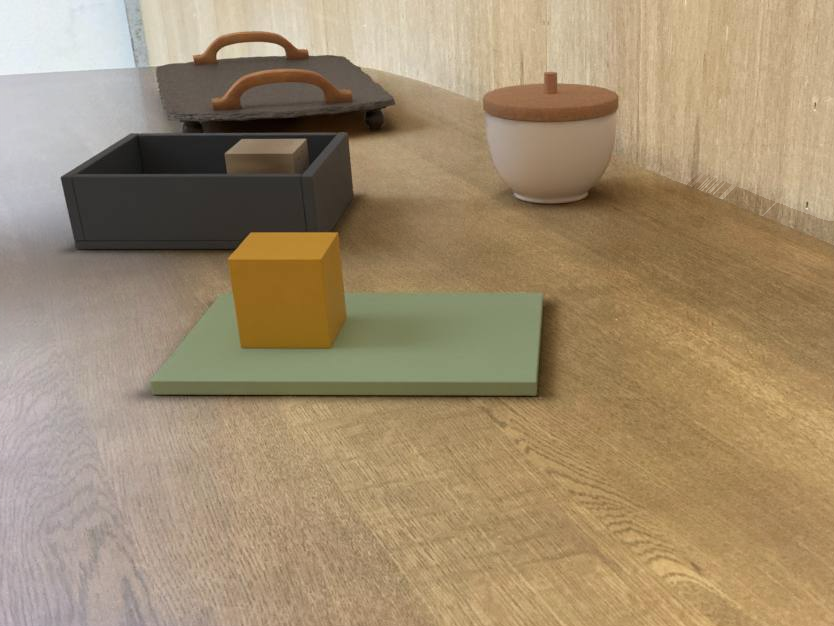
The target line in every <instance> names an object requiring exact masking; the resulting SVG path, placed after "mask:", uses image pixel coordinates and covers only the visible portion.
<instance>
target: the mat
mask: <svg viewBox="0 0 834 626" xmlns="http://www.w3.org/2000/svg"><path fill="white" fill-rule="evenodd" d="M344 295H345V305H346V315H347V317H346V319H345V321H344V323H343V325H342V327H341V329H340V331H339V333H338V335H337V337H336V339H335V341H334V343H333V345H332V347H331V348H241V345H240V338H239V332H238V325H237V319H236V312H235V306H234V299H233V292H231V291H230V292H224V291H223V292H221V293H220V294H219V296H217V298H216V299H215V300H214V302H213V303H212V304H211V305H210V306H209V308H208V309H207V310H206V311H205V313H204V314H203V315H202V316H201V318H200V319H198V322H197V323H195V325H194V326H193V327H192V329H191V330H190V331H189V332H188V334H186V336H185V337H184V339H182V340H181V342H180V343H179V345H178V346H177V347H176V348H175V350H174V351H173V352H172V353H171V355H170V356H169V357H168V358H167V360H165V362H164V363H163V364H162V365H161V367H160V368H159V369H158V371H157V372H156V373H155V374H154V375H153V377H152V378H151V379H150V381H149V382H150V388H151V393H152V395H154V396H155V395H164V396H165V395H167V396H169V395H171V396H172V395H173V396H175V395H179V396H180V395H183V396H184V395H185V396H186V395H191V396H192V395H193V396H194V395H195V396H196V395H197V396H198V395H200V396H201V395H202V396H203V395H204V396H205V395H207V396H210V395H211V396H214V395H215V396H216V395H217V396H229V395H231V396H238V395H239V396H252V395H253V396H507V397H508V396H513V397H515V396H516V397H517V396H526V397H529V396H532V397H533V396H537V394H538V383H539V367H540V355H541V354H540V353H541V341H542V326H543V325H542V324H543V313H544V311H543V310H544V292H344Z"/></svg>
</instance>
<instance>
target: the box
mask: <svg viewBox="0 0 834 626" xmlns="http://www.w3.org/2000/svg"><path fill="white" fill-rule="evenodd" d="M241 139H307V148H308V157H309V166H310V167H309V168H308V169H307V170H306V171H305V172H304V174H303V175H302V174H227V167H226V161H225V153H226V152H227V151H228V150H229V149H231V148H232V147H233V146H234V145H235V144H237V143H238V142H239V141H240V140H241ZM60 182H61V186H62V191H63V196H64V200H65V205H66V209H67V213H68V217H69V222H70V227H71V231H72V237H73V240H74V245H75V249H76V250H236V249H237V248H238V247H239V245H240V244H241V243H242V242H243V241H244V240H245V239H246V237H247V236H248V235H249V234H250V233H251V232H333V229H334V228H335V226H336V225H337V223H338V222H339V220H340V218H341V217H342V215H343V214H344V212H345V211H346V209H347V207H348V206H349V205H350V203H351V202H352V200H353V199H354V196H355V193H354V185H353V174H352V163H351V150H350V140H349V133H348V132H205V133H182V132H149V133H147V132H144V133H143V132H141V133H139V132H136V133H134V132H130V133H129V134H127V135H126V136H124V137H123V138H121V139H119V140H118V141H116V142H114V143H113V144H111V145H109V146H108V147H106V148H104V149H103V150H101V151H100V152H99V153H97V154H95V155H93V156H92V157H90V158H89V159H87V160H85V161H83V162H82V163H81V164H79V165H77V166H76V167H74V168H73V169H70V170H69V171H68V172H66V173H64V174H63V175H62V176H60Z"/></svg>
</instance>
